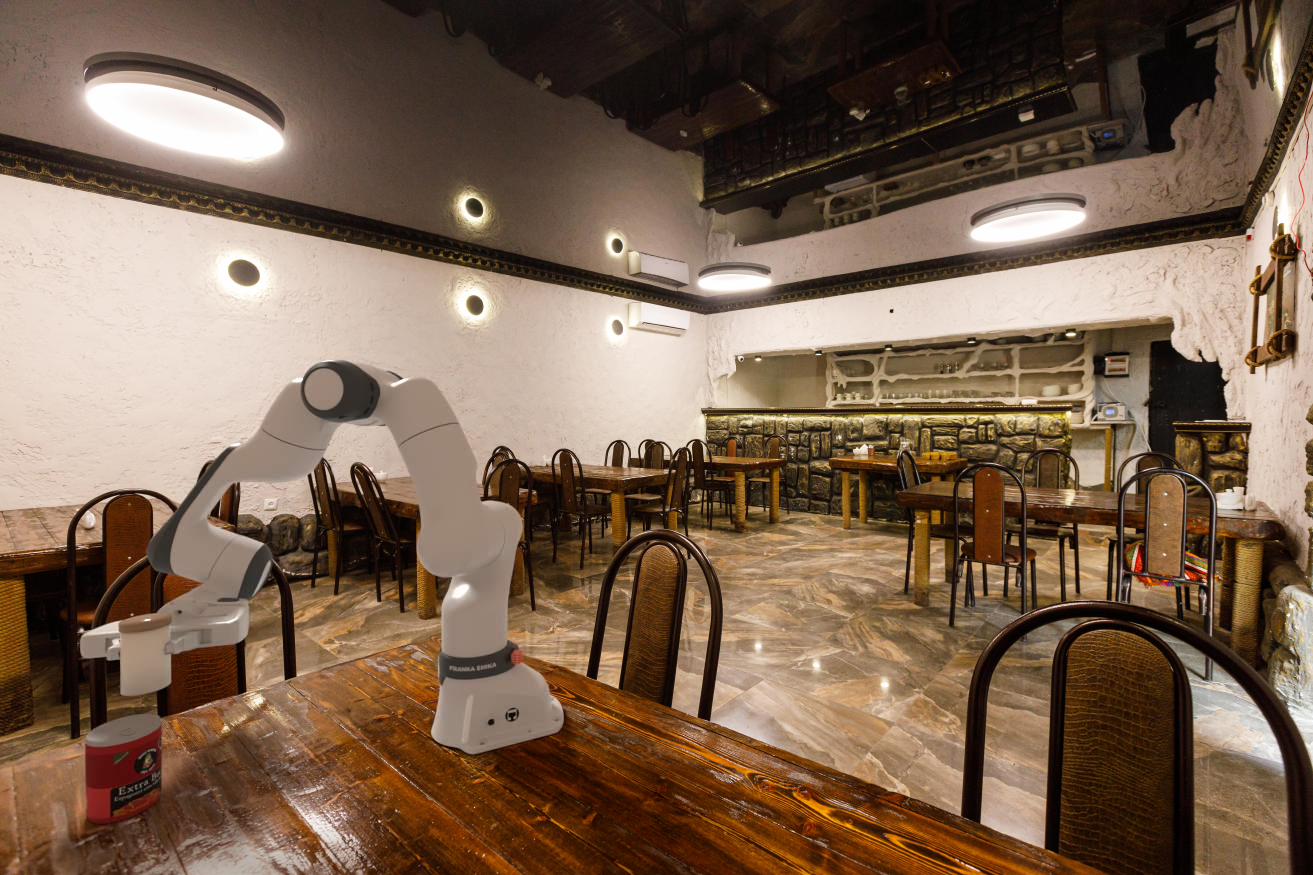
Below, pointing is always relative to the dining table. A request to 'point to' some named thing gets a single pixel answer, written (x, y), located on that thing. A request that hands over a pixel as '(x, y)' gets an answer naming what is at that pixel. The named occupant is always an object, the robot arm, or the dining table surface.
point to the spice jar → (144, 653)
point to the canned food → (123, 767)
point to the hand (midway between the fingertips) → (142, 651)
